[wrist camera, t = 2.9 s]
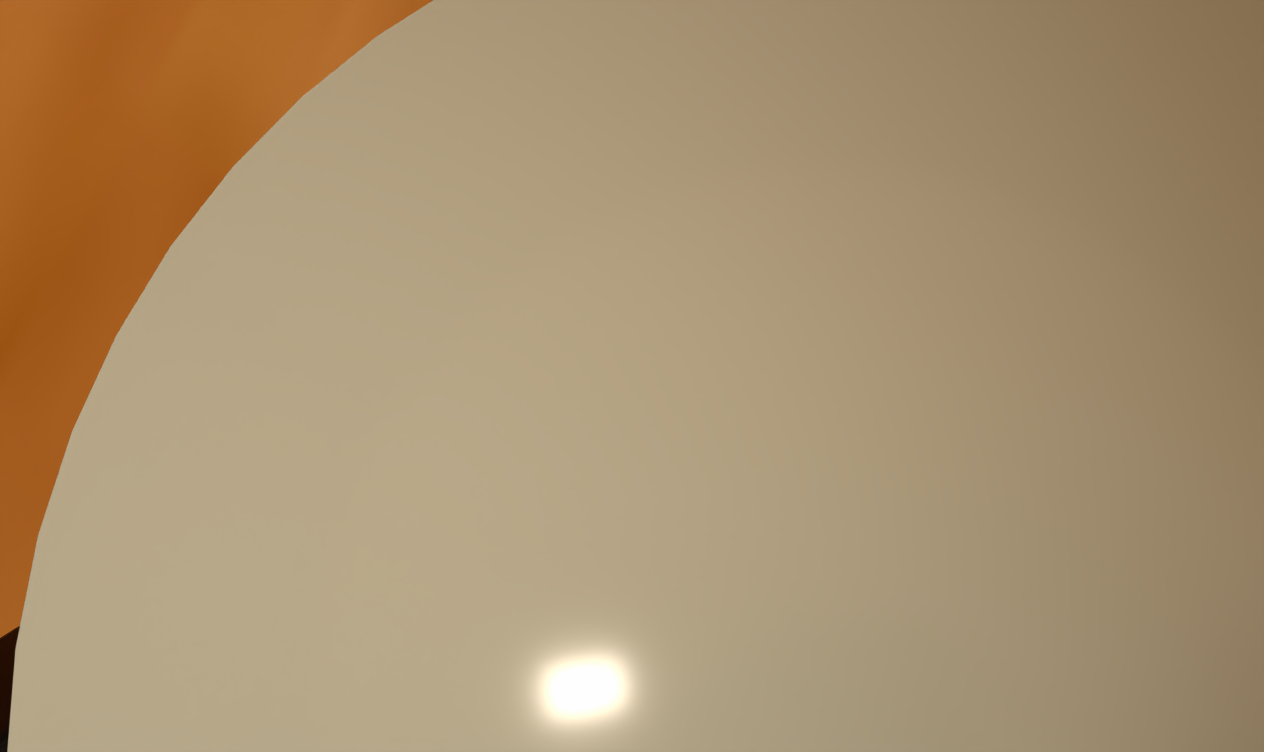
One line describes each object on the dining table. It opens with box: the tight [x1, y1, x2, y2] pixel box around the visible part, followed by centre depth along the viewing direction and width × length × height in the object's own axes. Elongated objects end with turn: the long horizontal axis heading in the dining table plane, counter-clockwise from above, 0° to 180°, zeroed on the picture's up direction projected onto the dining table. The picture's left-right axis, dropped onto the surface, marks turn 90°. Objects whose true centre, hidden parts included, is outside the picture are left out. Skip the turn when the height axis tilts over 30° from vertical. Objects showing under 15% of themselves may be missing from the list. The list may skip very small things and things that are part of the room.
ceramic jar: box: [7, 0, 1264, 752], centre depth 9 cm, size 8×8×12 cm
